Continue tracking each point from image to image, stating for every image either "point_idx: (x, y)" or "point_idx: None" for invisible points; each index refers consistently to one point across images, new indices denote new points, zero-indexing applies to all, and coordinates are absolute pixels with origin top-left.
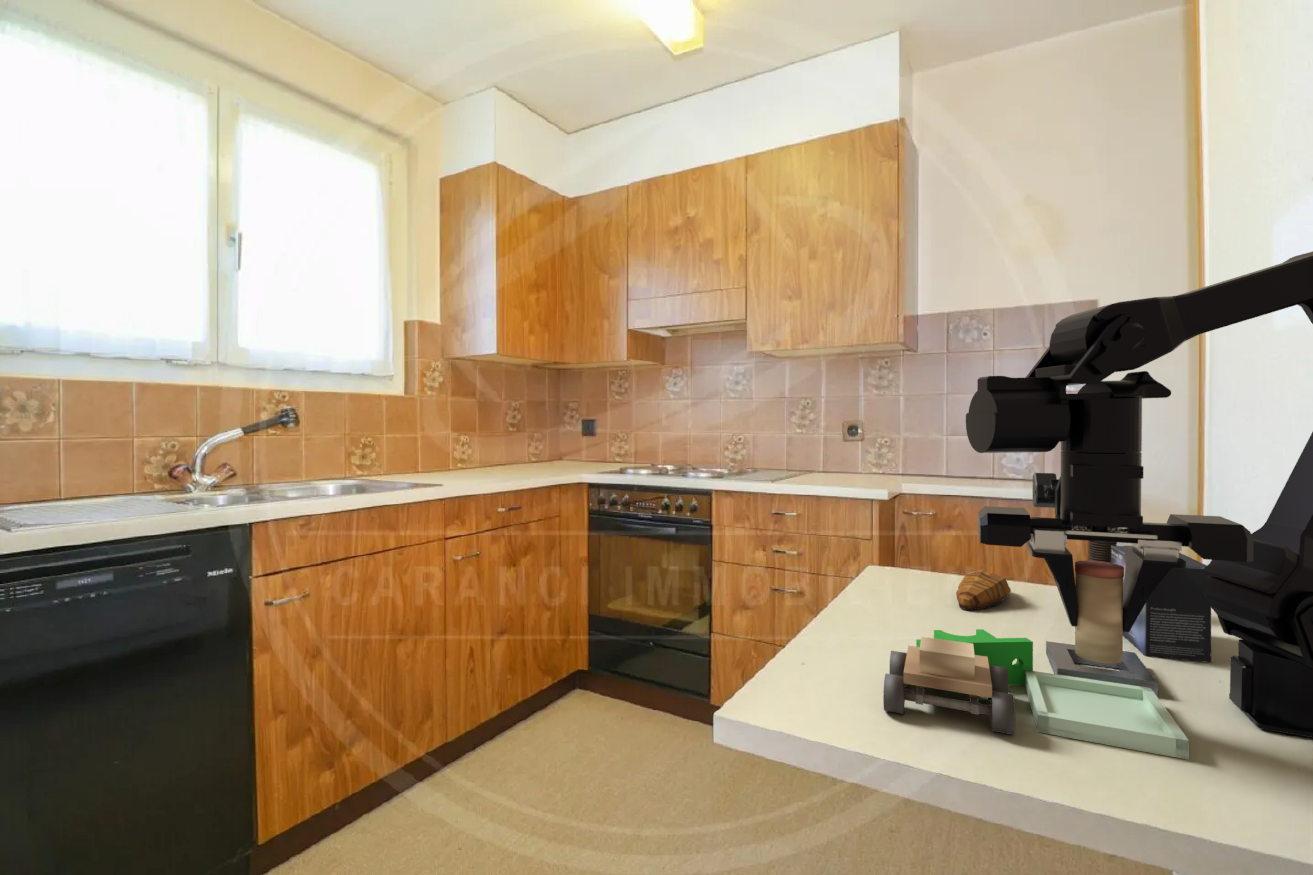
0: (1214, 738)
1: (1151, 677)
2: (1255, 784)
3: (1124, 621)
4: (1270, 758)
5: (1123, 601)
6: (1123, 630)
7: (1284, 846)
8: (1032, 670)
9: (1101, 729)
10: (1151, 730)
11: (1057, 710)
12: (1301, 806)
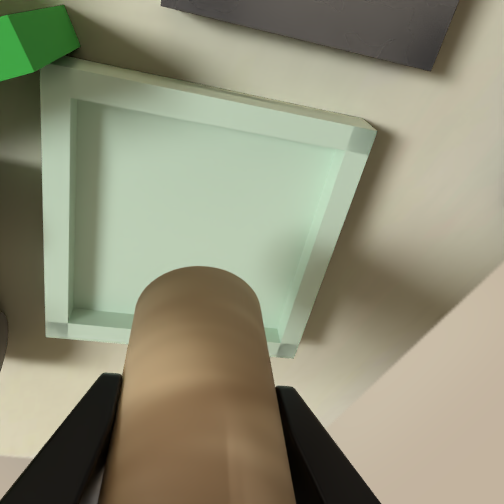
0: (385, 254)
1: (439, 30)
2: (339, 369)
3: None
4: (424, 298)
5: (300, 500)
6: None
7: None
8: (67, 51)
9: None
10: None
11: (106, 249)
12: (357, 397)
